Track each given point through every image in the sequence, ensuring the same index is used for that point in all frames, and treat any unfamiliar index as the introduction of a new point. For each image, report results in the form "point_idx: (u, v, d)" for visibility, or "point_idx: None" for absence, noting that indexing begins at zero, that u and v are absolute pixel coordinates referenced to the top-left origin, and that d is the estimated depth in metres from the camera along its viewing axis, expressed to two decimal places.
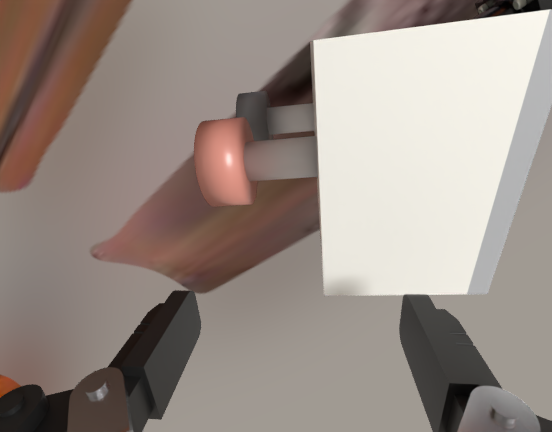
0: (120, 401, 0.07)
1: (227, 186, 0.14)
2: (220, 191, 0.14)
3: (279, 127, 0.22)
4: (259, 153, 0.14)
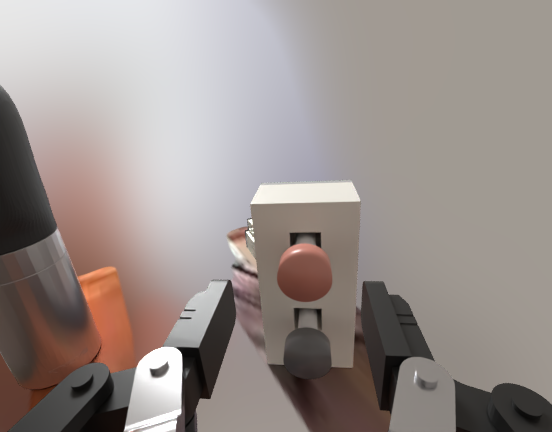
0: (176, 383, 0.07)
1: (308, 247, 0.24)
2: (311, 250, 0.23)
3: None
4: None
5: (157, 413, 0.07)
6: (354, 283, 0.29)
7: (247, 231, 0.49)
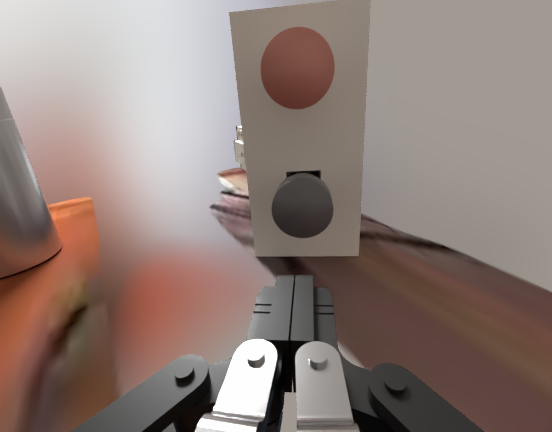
0: (266, 383, 0.07)
1: None
2: None
3: None
4: None
5: (243, 407, 0.07)
6: (361, 129, 0.23)
7: (236, 140, 0.43)
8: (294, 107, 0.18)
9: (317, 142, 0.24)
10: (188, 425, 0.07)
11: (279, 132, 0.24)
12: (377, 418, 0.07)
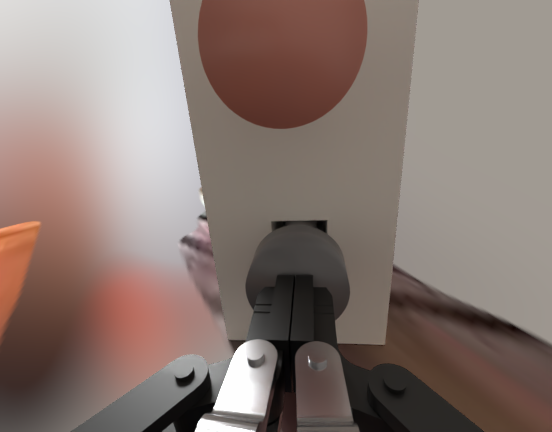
0: (266, 383, 0.07)
1: None
2: None
3: None
4: None
5: (243, 407, 0.07)
6: (398, 155, 0.14)
7: None
8: (276, 124, 0.08)
9: (322, 176, 0.14)
10: (188, 425, 0.07)
11: (257, 159, 0.14)
12: (377, 418, 0.07)
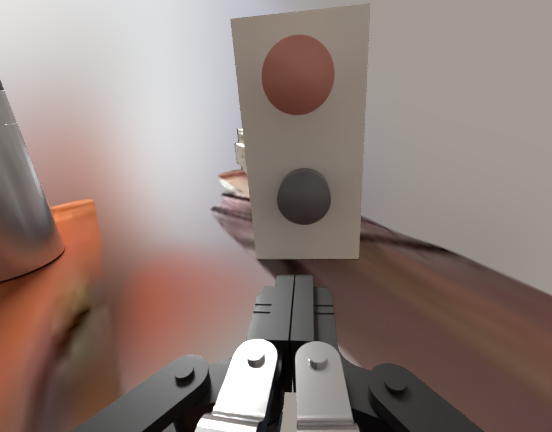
0: (266, 383, 0.07)
1: None
2: None
3: None
4: None
5: (243, 407, 0.07)
6: (361, 133, 0.24)
7: (237, 143, 0.43)
8: (295, 113, 0.18)
9: (317, 146, 0.25)
10: (188, 425, 0.08)
11: (279, 136, 0.25)
12: (377, 418, 0.07)
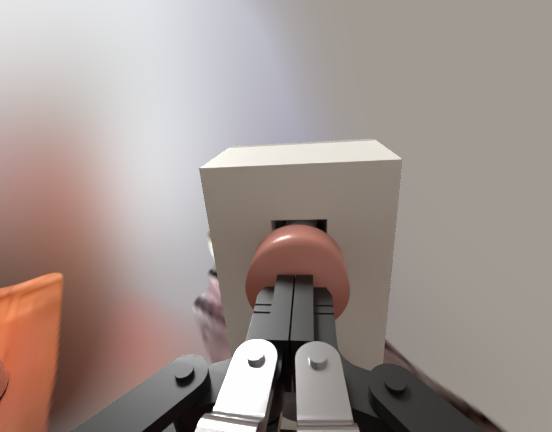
0: (266, 383, 0.07)
1: (303, 231, 0.13)
2: (309, 236, 0.12)
3: None
4: None
5: (243, 407, 0.07)
6: (383, 308, 0.17)
7: None
8: None
9: None
10: (188, 425, 0.07)
11: None
12: (377, 418, 0.07)
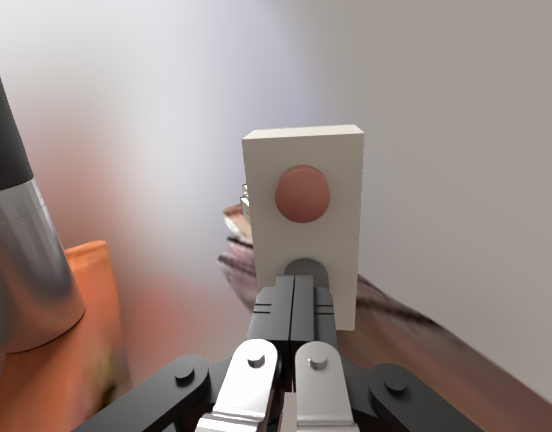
0: (266, 383, 0.07)
1: (306, 167, 0.24)
2: (309, 169, 0.23)
3: None
4: None
5: (243, 407, 0.07)
6: (356, 231, 0.27)
7: (242, 198, 0.46)
8: (299, 221, 0.24)
9: (318, 240, 0.28)
10: (188, 425, 0.07)
11: (284, 231, 0.28)
12: (377, 418, 0.07)
